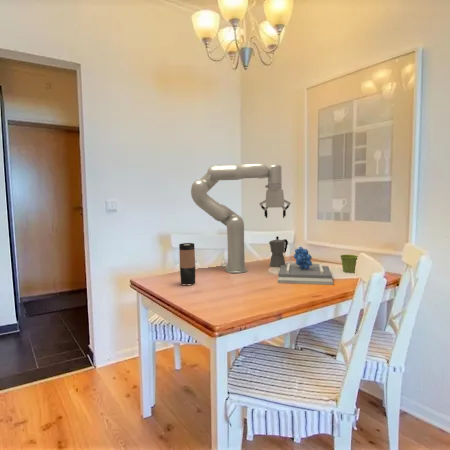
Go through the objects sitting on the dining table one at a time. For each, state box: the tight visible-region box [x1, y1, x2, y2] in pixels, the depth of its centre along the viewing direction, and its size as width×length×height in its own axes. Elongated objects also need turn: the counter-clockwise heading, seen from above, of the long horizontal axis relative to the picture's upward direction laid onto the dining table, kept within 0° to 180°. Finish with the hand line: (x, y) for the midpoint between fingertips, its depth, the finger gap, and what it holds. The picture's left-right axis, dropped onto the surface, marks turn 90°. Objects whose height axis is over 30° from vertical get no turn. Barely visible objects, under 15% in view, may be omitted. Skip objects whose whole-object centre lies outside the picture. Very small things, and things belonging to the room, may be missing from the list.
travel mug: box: [178, 242, 196, 285], centre depth 169 cm, size 8×8×20 cm
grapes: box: [293, 246, 313, 270], centre depth 181 cm, size 12×7×12 cm, turn 39°
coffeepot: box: [268, 236, 289, 268], centre depth 207 cm, size 15×9×18 cm, turn 126°
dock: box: [277, 262, 334, 286], centre depth 178 cm, size 26×28×5 cm
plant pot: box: [339, 254, 359, 273], centre depth 187 cm, size 9×9×9 cm
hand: (275, 217), depth 191 cm, fingers open, 9 cm apart
